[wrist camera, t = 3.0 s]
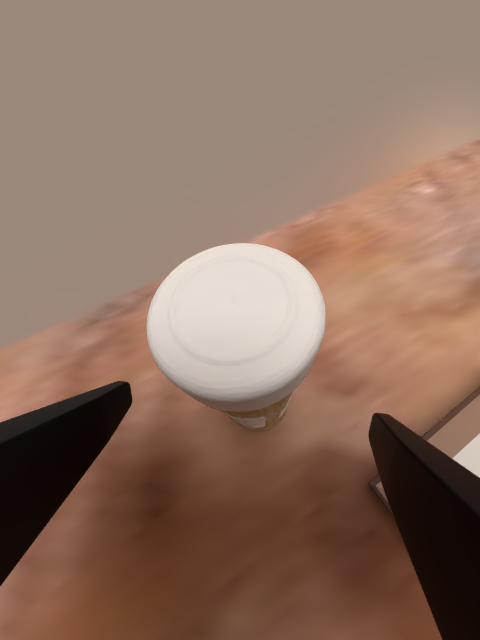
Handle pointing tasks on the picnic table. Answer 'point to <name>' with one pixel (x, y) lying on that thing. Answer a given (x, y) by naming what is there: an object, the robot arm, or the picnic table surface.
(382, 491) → the socket block
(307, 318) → the sprinkles bottle
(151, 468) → the picnic table surface
